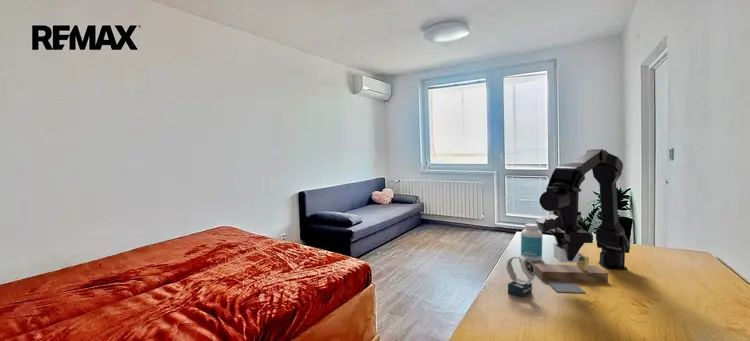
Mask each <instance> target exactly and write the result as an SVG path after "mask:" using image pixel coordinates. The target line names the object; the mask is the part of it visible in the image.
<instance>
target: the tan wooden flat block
mask: <svg viewBox="0 0 750 341" xmlns="http://www.w3.org/2000/svg"><path fill="white" fill-rule="evenodd" d="M589 261H590V257H589V256H588V255H586V254H585V253H583V252H581V251H579V263H578V262H576V265H577V266H578V267H580V268H581V269H582V270H584V271H588V269H589V265H590V262H589Z"/></svg>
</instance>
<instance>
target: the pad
mask: <svg viewBox="0 0 750 341" xmlns="http://www.w3.org/2000/svg"><path fill="white" fill-rule="evenodd" d="M545 282H546V283H547V284H548V286H550V287H551V289H553V290H554V291H555V292H556V293H563V294H564V293H565V294H586V291H585V290H584V289H582V288H581V287H580V286H579V285H578V284H576V283H575V281H545Z"/></svg>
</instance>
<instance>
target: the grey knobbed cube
mask: <svg viewBox="0 0 750 341" xmlns="http://www.w3.org/2000/svg"><path fill="white" fill-rule="evenodd" d="M579 252H580V250H579V251H578V253H577V254H576V256H575V258H574V259H573V261H568V257H567V249H566V244H557V243H555V244H554V245H553V257H554V258H555V259H556V260H558V261H559V262H560V263H577V262H578V263H579Z"/></svg>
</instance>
